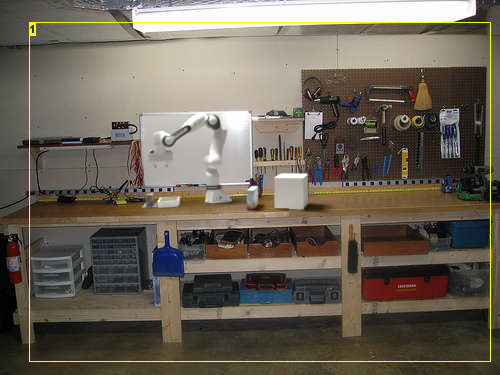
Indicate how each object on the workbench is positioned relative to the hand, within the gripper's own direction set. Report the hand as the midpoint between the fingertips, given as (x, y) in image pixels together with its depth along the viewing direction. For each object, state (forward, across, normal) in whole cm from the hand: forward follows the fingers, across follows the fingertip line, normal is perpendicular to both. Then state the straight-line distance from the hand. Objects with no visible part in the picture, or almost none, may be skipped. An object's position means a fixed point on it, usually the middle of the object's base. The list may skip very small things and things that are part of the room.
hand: (161, 167), depth 311 cm
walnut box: (+29, +9, +13) cm, 33 cm away
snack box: (+31, -72, +36) cm, 86 cm away
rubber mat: (+30, +9, +13) cm, 34 cm away
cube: (+32, -101, +41) cm, 114 cm away
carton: (+30, -6, +13) cm, 33 cm away
